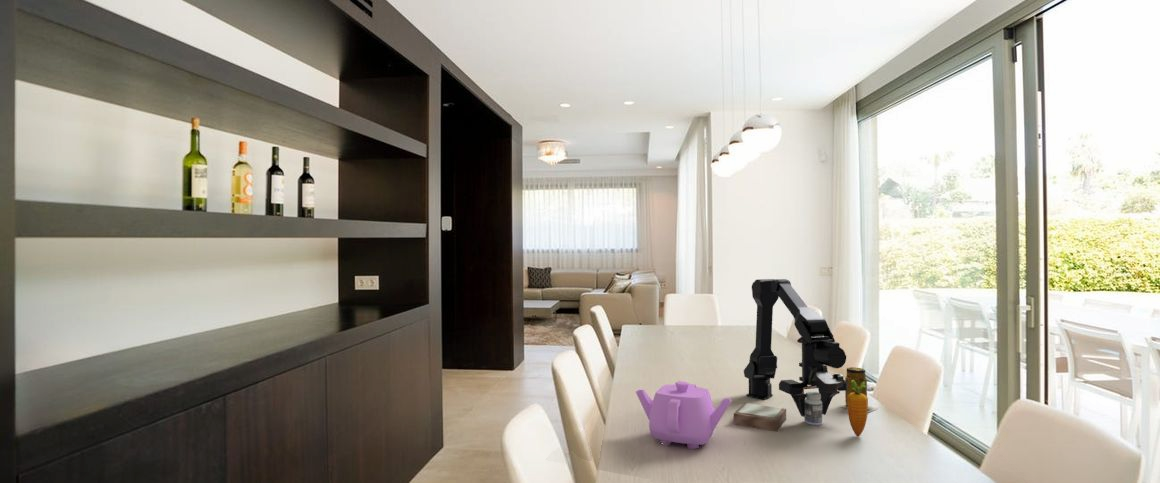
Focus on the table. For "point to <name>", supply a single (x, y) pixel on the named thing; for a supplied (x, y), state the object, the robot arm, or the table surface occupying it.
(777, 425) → the pedestal
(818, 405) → the pill bottle
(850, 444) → the table surface
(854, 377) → the condiment
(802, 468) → the table surface
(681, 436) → the teapot
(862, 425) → the carrot
